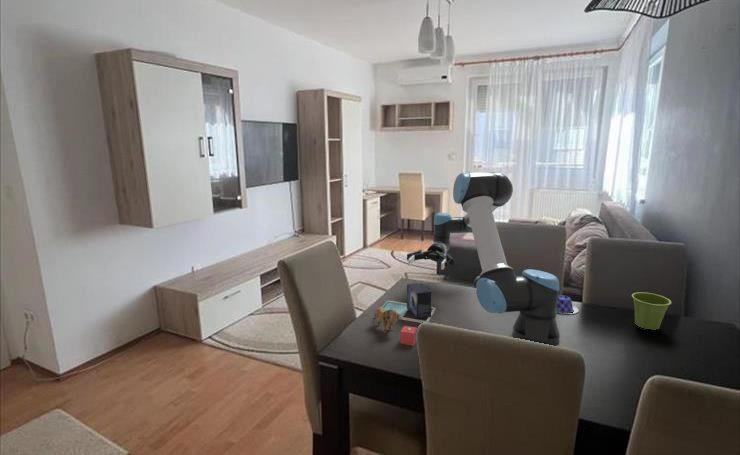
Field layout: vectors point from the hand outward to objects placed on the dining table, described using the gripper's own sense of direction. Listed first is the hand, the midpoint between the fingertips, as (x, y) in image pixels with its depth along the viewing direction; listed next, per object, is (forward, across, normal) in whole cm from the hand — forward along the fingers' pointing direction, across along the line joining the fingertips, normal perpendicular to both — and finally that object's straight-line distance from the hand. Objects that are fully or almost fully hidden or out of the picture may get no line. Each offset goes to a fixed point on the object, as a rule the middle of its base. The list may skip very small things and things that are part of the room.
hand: (425, 264), depth 166 cm
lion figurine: (+26, +8, -18) cm, 32 cm away
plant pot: (-10, -81, -17) cm, 84 cm away
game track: (+10, +5, -17) cm, 21 cm away
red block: (+33, -3, -17) cm, 37 cm away
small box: (+10, 0, -17) cm, 20 cm away
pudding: (-17, -53, -18) cm, 59 cm away
